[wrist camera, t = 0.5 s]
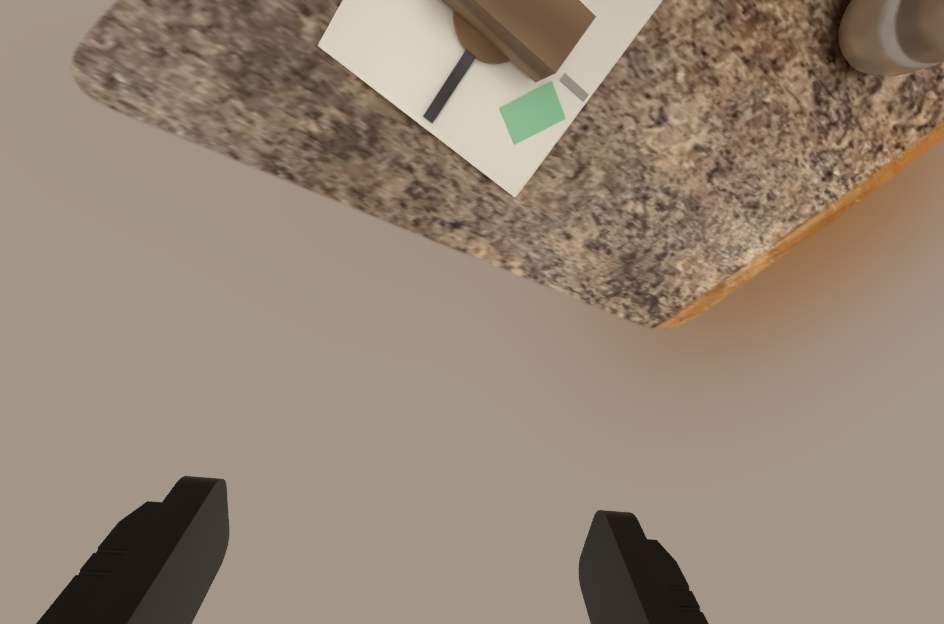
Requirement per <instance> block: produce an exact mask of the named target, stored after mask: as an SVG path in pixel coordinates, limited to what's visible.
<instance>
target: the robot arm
mask: <svg viewBox="0 0 944 624" xmlns="http://www.w3.org/2000/svg"><path fill="white" fill-rule="evenodd" d="M228 541H229V519H228V504H227V488H226V482H225V480H224V479H216V478H204V477H191V476H184V477H182V478H181V479H180V480H179V481H178V482H177V483H176V484H175V486H174V487H173V488H172V490H171V491H170V493H169V494H168V495H167V496H166V498H165V499H164V501H163V502H148V501H147V502H146V503H144V504H143V505H142V506H140V507H139V508H138V509H136V510H135V511H133V512H132V513H131V514H129V515H128V516H126V517H125V518H124V519H122V520H121V521H120V522H119V523H118V524H117V525H116V526H115V527H114V528H113V530H112V531H111V532H110V534H109V535H108V536H107V537H106V539H105V540H104V541H103V542H102V543H101V545H100V546H99V547H98V550H97V552H96V553H93V554H92V556H91V557H90V558H89V560H88V561H87V562H86V563H85V564H84V566H83V567H82V568H81V569H80V573H79V575H76V576H75V577H74V578H73V579H72V580H71V582H70V583H69V584H68V585H67V587H66V588H65V589H64V590H63V591H62V593H61V594H60V595H59V596H58V598H57V599H56V600H55V601H54V603H53V604H52V605H51V606H50V608H49V609H48V610H47V611H46V613H45V614H44V615H43V616H42V617H41V619H40V620H39V621H38V622H37V624H192V622H193V620H194V618H195V616H196V614H197V611H198V610H199V608H200V606H201V604H202V602H203V600H204V598H205V596H206V594H207V592H208V590H209V588H210V586H211V584H212V582H213V580H214V578H215V576H216V574H217V572H218V570H219V568H220V566H221V564H222V562H223V559H224V556H225V553H226V550H227V546H228ZM579 581H580V586H581V591H582V594H583V598H584V601H585V605H586V608H587V612H588V615H589V619H590V622H591V624H708V622H707V620H706V618H705V616H704V614H703V612H700V606H699V604H698V603H697V601H696V599H695V597H694V595H693V593H692V591H689V586H688V583H687V581H686V579H685V577H684V575H683V574H682V572H681V570H680V568H679V566H678V564H677V562H676V561H675V560H674V559H673V558H672V556H671V555H670V554H669V553H668V552H667V551H666V550H665V549H664V548H663V546H662V545H661V544H660V543H659V542H658V541H657V540H648V539H646V537H645V534H644V532H643V530H642V528H641V526H640V524H639V522H638V520H637V518H636V517H635V515H634V514H633V513H629V512H616V511H603V510H599V511H597V512H596V514H595V516H594V518H593V521H592V524H591V527H590V530H589V533H588V536H587V539H586V541H585V544H584V547H583V551H582V553H581V557H580V561H579Z"/></svg>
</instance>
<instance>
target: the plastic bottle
mask: <svg viewBox="0 0 944 624" xmlns="http://www.w3.org/2000/svg"><path fill="white" fill-rule="evenodd" d="M838 40H839V47H840V50H841V52H842V54H843V56H844V57H845V59H846V60H847V62H848V63H849V64H850V65H851V66H852V67H853V68H854V69H856V70H858V71H860V72H862V73H866V74H873V75H884V76H894V75H901V74H905V73H909V72H913V71H917V70H921V69H924V68H928V67H931V66H934V65H937V64H940V63H942V62H944V0H851V1H850V3H849V4H848V6H847V8H846V10H845V11H844V14H843V17H842V19H841V22H840V27H839V36H838Z"/></svg>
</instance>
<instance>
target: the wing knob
mask: <svg viewBox="0 0 944 624" xmlns="http://www.w3.org/2000/svg"><path fill="white" fill-rule="evenodd" d="M442 1H443V2H444V3H445V4H446V5H447V6H448V7H450V8H451V9H452V10H453V24H454V29H455V32H456V35H457V38H458V40H459V42H460V43H461V45H462V47H463V48H464V49H465V52H464V53H463V55H462V57H461V58H460V60H459V61H458V63H457V64H456V66H455V67H454V69H453V71H452V72H451V74H450V75H449V77H448V78H447V80H446V81H445V83H444V84H443V86H442V88H441V89H440V91H439V92H438V94H437V95H436V97H435V98H434V100H433V101H432V103H431V105H430V106H429V108H428V109H427V111H426V112H425V114H424V115H423V117H424V118H426V119H427V120H428V121H429V122H431V123H432V124H433V122H434V121H435V119H436V117H437V116H438V114H439V113H440V111H441V110H442V108H443V107H444V105H445V104H446V102H447V101H448V99H449V98H450V96H451V95H452V93H453V92H454V90H455V88H456V87H457V85H458V84H459V82H460V81H461V79H462V78H463V76H464V75H465V73H466V72H467V70H468V69H469V67H470V66H471V64H472V63H473V61H474V59H477V60H478V61H481V62H483V63H487V64H503V63H507V62H509V61H512V62H513V63H514V64H515V65H516V66H517V67H518V68H520V69H521V70H522V71H523V72H524V73H525V74H526V75H528V76H529V77H530V78H531V79H532V80H533V81H535V82H538V81H540V80H542V79H544V78H547V77H549V76H551V75H553V74H555V73H556V72H557V71H558V69H559V68H560V67H561V65H562V64H563V62H564V61H565V60H566V58H567V57H568V55H569V54H570V53H571V51H572V50H573V48H574V47H575V46H576V44H577V43H578V41H579V40H580V39H581V37H582V36H583V34H584V33H585V32H586V30H587V29H588V27H589V26H590V25H591V23H592V22H593V20H594V19H595V18H596V16H595V15H594V14H593V13H592V12H591V11H590V10H589V9H588V8H587V7H586V6H585V5H584V4H583V3H582V2H581V1H580V0H442Z"/></svg>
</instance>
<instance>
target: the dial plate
mask: <svg viewBox="0 0 944 624" xmlns="http://www.w3.org/2000/svg"><path fill="white" fill-rule="evenodd" d="M580 1H581V2H582V3H583V4H584V5H585V6H586V7H587V8H588V9H589V10H590V11H591V12H592V13H593V14H594V15H595V16H596V18H595V19H594V20H593V22H592V23H591V25H590V26H589V27H588V29H587V30H586V32H585V33H584V34H583V36H582V37H581V39H580V40H579V41H578V43H577V44H576V46H575V47H574V48H573V50H572V51H571V53H570V54H569V55H568V57H567V58H566V60H565V61H564V62H563V64H562V65H561V67H560V68H559V69H558V71H557V72H556V73H555V74H553V75H551V76H549V77H547V78H544V79H542V80H540V81H538V82H535V81H533V80H532V79H531V78H530V77H529V76H528V75H526V74H525V73H524V72H523V71H522V70H521V69H520V68H518V67H517V66H516V65H515V64H514V63H513V62H512V61H509V62H507V63H503V64H487V63H483V62H481V61H478V60H477V59H474V61H473V63H472V64H471V66H470V67H469V69H468V70H467V72H466V73H465V75H464V76H463V78H462V79H461V81H460V82H459V84H458V85H457V87H456V88H455V90H454V92H453V93H452V95H451V96H450V98H449V99H448V101H447V102H446V104H445V105H444V107H443V108H442V110H441V111H440V113H439V114H438V116H437V117H436V119H435V121H434V122H433V124H432V123H431V122H429V121H428V120H427V119H426V118H424V117H423V115H424V114H425V112H426V111H427V109H428V108H429V106H430V105H431V103H432V101H433V100H434V98H435V97H436V95H437V94H438V92H439V91H440V89H441V88H442V86H443V84H444V83H445V81H446V80H447V78H448V77H449V75H450V74H451V72H452V71H453V69H454V67H455V66H456V64H457V63H458V61H459V60H460V58H461V57H462V55H463V53H464V52H465V49H464V48H463V47H462V45H461V43H460V42H459V40H458V38H457V35H456V32H455V29H454V24H453V10H452V9H451V8H450V7H448V6H447V5H446V4H445V3H444V2H443V1H442V0H343V1H342V2H341V4H340V6H339V8H338V10H337V12H336V13H335V15H334V17H333V19H332V21H331V22H330V24H329V26H328V28H327V30H326V31H325V33H324V35H323V37H322V39H321V40H320V42H319V44H318V46H319V47H320V48H321V49H322V50H324V51H325V52H326V53H328V54H329V55H330V56H332V57H333V58H334V59H335V60H337V61H338V62H339V63H341V64H342V65H343V66H345V67H346V68H347V69H348V70H350V71H351V72H352V73H354V74H355V75H356V76H358V77H359V78H360V79H361V80H363V81H364V82H365V83H367V84H368V85H369V86H371V87H372V88H373V89H374V90H376V91H377V92H378V93H380V94H381V95H382V96H383V97H385V98H386V99H387V100H389V101H390V102H391V103H393V104H394V105H395V106H396V107H398V108H399V109H400V110H402V111H403V112H404V113H406V114H407V115H408V116H409V117H411V118H412V119H413V120H415V121H416V122H417V123H419V124H420V125H421V126H422V127H424V128H425V129H426V130H428V131H429V132H430V133H432V134H433V135H434V136H435V137H437V138H438V139H439V140H441V141H442V142H443V143H445V144H446V145H447V146H448V147H450V148H451V149H452V150H454V151H455V152H456V153H458V154H459V155H460V156H461V157H463V158H464V159H465V160H467V161H468V162H469V163H471V164H472V165H473V166H474V167H476V168H477V169H478V170H480V171H481V172H482V173H484V174H485V175H486V176H487V177H489V178H490V179H491V180H493V181H494V182H495V183H496V184H498V185H499V186H500V187H502V188H503V189H504V190H506V191H507V192H508V193H509V194H511V195H512V196H513V197H515V198H516V196H517V195H518V194H519V192H520V191H521V190H522V188H523V187H524V186H525V184H526V183H527V182H528V180H529V179H530V177H531V176H532V175H533V173H534V172H535V171H536V169H537V168H538V167H539V165H540V164H541V163H542V161H543V160H544V159H545V157H546V156H547V155H548V153H549V152H550V151H551V149H552V148H553V147H554V145H555V144H556V143H557V141H558V140H559V139H560V137H561V136H562V135H563V133H564V132H565V131H566V129H567V128H568V127H569V125H570V124H571V123H572V121H573V120H574V118H575V117H576V116H577V114H578V113H579V112H580V110H581V109H582V108H583V106H584V105H585V104H586V102H587V101H588V100H589V98H590V97H591V96H592V94H593V93H594V92H595V90H596V89H597V88H598V86H599V85H600V84H601V82H602V81H603V80H604V78H605V77H606V76H607V74H608V73H609V72H610V70H611V69H612V68H613V66H614V65H615V63H616V62H617V61H618V59H619V58H620V57H621V55H622V54H623V53H624V51H625V50H626V49H627V47H628V46H629V45H630V43H631V42H632V41H633V39H634V38H635V37H636V35H637V34H638V33H639V31H640V30H641V29H642V27H643V26H644V25H645V23H646V22H647V21H648V19H649V18H650V17H651V15H652V14H653V13H654V11H655V10H656V9H657V7H658V6H659V4H660V3H661V2H662V0H580Z"/></svg>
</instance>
